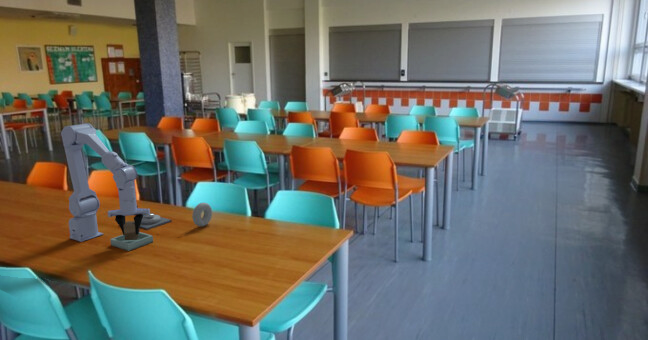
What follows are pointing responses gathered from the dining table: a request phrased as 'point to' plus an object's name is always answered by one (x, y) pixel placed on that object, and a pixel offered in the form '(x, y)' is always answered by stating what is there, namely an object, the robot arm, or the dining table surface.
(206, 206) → the donut
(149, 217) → the crank
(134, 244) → the tray
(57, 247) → the dining table surface
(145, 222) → the crank base
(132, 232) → the block
